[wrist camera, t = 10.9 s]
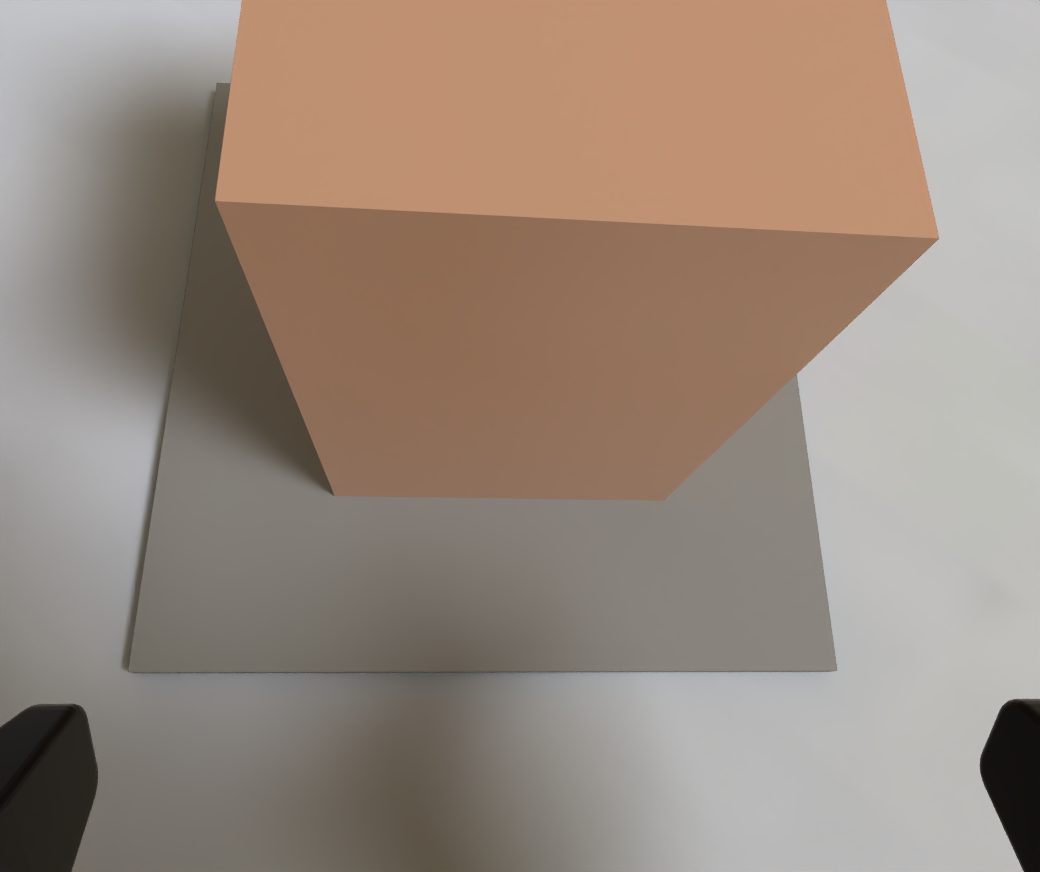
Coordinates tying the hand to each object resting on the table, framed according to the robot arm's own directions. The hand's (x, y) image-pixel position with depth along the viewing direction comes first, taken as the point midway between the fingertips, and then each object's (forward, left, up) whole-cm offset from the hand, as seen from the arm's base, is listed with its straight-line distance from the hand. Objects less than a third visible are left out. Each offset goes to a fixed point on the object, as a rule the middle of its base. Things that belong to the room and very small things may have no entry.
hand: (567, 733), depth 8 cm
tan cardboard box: (+8, +3, -8) cm, 12 cm away
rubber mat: (+8, +3, -8) cm, 12 cm away
